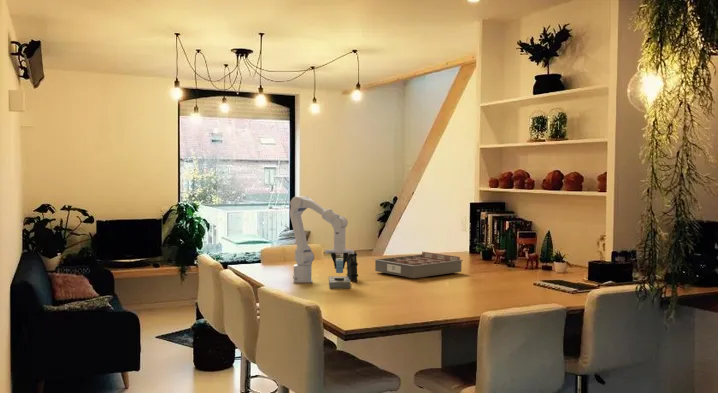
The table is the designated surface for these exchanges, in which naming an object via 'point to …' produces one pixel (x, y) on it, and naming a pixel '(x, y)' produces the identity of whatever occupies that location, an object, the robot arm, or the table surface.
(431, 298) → the table surface
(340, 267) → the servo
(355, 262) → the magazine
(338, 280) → the chassis
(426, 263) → the organizer tray
